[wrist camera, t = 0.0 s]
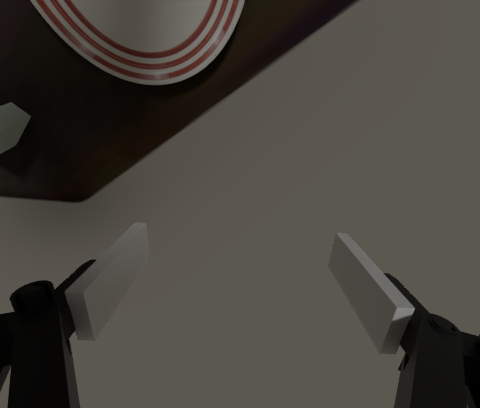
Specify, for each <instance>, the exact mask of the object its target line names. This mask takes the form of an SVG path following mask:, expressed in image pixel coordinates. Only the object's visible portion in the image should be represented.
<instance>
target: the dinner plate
mask: <svg viewBox="0 0 480 408" xmlns="http://www.w3.org/2000/svg"><path fill="white" fill-rule="evenodd" d="M30 1H31V2H32V3H33V5H34V6H35V7H36V9H37V10H38V11H39V13H40V14H41V15H42V17H43V18H44V19H45V20H46V22H47V23H48V24H49V25H50V26H51V27H52V28H53V29H54V31H55V32H56V33H57V34H58V35H59V36H60V37H61V38H62V39H63V40H64V41H65V42H66V43H67V44H68V45H69V46H71V47H72V48H73V49H74V50H75V51H76V52H78V53H79V54H80V55H81V56H83V57H84V58H85V59H87V60H88V61H89V62H91V63H92V64H94V65H95V66H97V67H99V68H100V69H102V70H104V71H106V72H108V73H110V74H112V75H114V76H116V77H119V78H121V79H124V80H127V81H130V82H134V83H139V84H146V85H165V84H172V83H176V82H179V81H182V80H185V79H187V78H189V77H191V76H193V75H195V74H197V73H198V72H200V71H201V70H202V69H204V68H205V67H206V66H207V65H209V64H210V63H211V62H212V61H213V60H214V59H215V58H216V57H217V55H218V54H219V53H220V52H221V50H222V49H223V47H224V46H225V45H226V43H227V42H228V40H229V38H230V36H231V34H232V33H233V31H234V29H235V26H236V24H237V22H238V19H239V17H240V14H241V12H242V9H243V6H244V2H245V0H30Z"/></svg>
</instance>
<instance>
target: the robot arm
mask: <svg viewBox="0 0 480 408" xmlns="http://www.w3.org/2000/svg"><path fill="white" fill-rule="evenodd" d="M149 258H150V256H149V245H148V235H147V227H146V223H134V224H133V225H132V226H131V227H130V228H129V229H128V230H127V231H126V232H125V233H124V234H123V235H122V236H121V237H120V238H119V239H118V240H117V241H116V242H115V243H114V244H113V245H112V246H111V247H110V248H109V249H107V250H106V251H105V252H104V253H103V254H102V255H101V257H99V258H98V259H97V260H90V261H88V262H86V263H84V264H82V265H81V266H80V267H79V268H78V269H77V270H76V271H75V272H74V273H73V274H71V275H70V276H69V278H67V279H66V280H65V281H64V282H63V283H61V284H60V285H59V286H58V287H57V288H56V289H55V290H54V287H53V284H52V283H51V282H50V281H47V280H45V281H36V282H32V283H29V284H27V285H24V286H22V287H21V288H19V289H17V290H16V291H15V292H14V293H12V295H11V297H10V301H11V303H12V306H13V309H14V311H15V312H10V313H4V314H0V391H1V388H2V386H3V384H4V381H5V379H6V377H7V374H8V372H9V370H10V367H11V375H10V386H9V398H8V408H80V404H79V397H78V391H77V384H76V377H75V371H74V364H73V358H72V352H71V344H70V341H69V338H70V336H71V335H72V333H73V332H74V331H75V332H76V335H77V339H78V340H94V341H95V339H96V338H97V336H98V335H99V333H100V332H101V330H102V329H103V327H104V326H105V324H106V323H107V321H108V320H109V318H110V317H111V314H112V313H113V312H114V311H115V309H116V307H117V306H118V304H119V303H120V301H121V300H122V298H123V297H124V295H125V294H126V292H127V291H128V289H129V288H130V286H131V285H132V283H133V282H134V280H135V279H136V277H137V276H138V274H139V273H140V271H141V270H142V268H143V267H144V265H145V263H146V262H147V260H148V259H149ZM329 268H330V270H331V271H332V273H333V274H334V276H335V278H336V280H337V281H338V283H339V285H340V287H341V288H342V290H343V292H344V293H345V295H346V297H347V299H348V300H349V302H350V304H351V306H352V307H353V309H354V311H355V312H356V314H357V316H358V318H359V319H360V321H361V323H362V324H363V326H364V328H365V330H366V331H367V333H368V335H369V336H370V338H371V340H372V342H373V343H374V345H375V347H376V348H377V350H378V352H379V353H382V354H383V353H384V354H396V352H397V350H398V347H399V345H401V347H402V348H403V350H404V351H405V355H404V357H403V359H402V362H401V364H400V366H399V368H398V370H400V371H401V372H400V378H399V383H398V389H397V394H396V399H395V405H394V408H467V406H468V408H480V335H479V336H475V335H471V334H468V333H465V332H461V331H459V330H458V328H457V327H456V326H455V325H454V324H452V323H451V322H450V321H448V320H446V319H445V318H443V317H441V316H438V315H435V314H430V313H429V312H428V311H427V310H426V309H425V308H424V307H423V306H422V305H421V304H420V303H419V302H418V301H417V299H416V298H415V297H414V296H413V295H412V294H410V292H409V291H408V290H407V289H406V288H404V286H403V285H402V284H401V283H400V282H399V281H398V280H397V279H396V278H394V277H393V276H391V275H390V274H388V273H383V272H382V271H381V270H380V269H379V268H378V267H377V266H376V265H375V264H374V263H373V261H371V259H370V258H369V257H368V256H367V255H366V254H365V253H364V252H363V250H362V249H361V248H360V247H359V246H358V245H357V244H356V243H355V242H354V241H353V239H352V238H351V237H350V236H349V235H348V234H347V233H336V235H335V239H334V244H333V248H332V253H331V257H330V261H329Z"/></svg>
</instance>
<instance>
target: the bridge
mask: <svg viewBox="0 0 480 408" xmlns="http://www.w3.org/2000/svg"><path fill="white" fill-rule="evenodd" d="M30 118H31V116H30V115H29V114H27V113H26V112H24V111H23V110H22V109H20V108H19V107H17V106H16V105H15V104H13V103H12V102H10V103H8V104H5V105H2V106H0V154H1V153H3V152H5V151H7V150H8V149H10V148H12V147H14V146H15V145H16V144H17V143H18V141H19V139H20V137H21V135H22V133H23V131H24V129H25V127H26V125H27V123H28V121H29V120H30Z"/></svg>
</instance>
